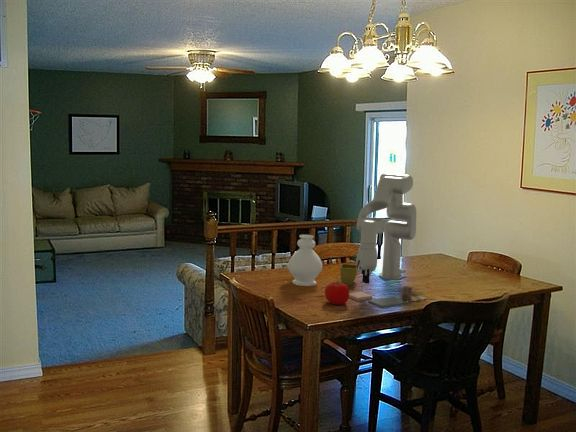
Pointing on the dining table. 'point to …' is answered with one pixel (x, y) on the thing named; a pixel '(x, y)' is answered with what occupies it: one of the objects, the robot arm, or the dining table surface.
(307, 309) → the dining table surface
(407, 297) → the turner
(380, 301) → the trivet
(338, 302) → the tomato
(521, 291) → the dining table surface
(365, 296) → the tile
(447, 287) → the dining table surface
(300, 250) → the decorative vase
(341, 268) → the flower pot
